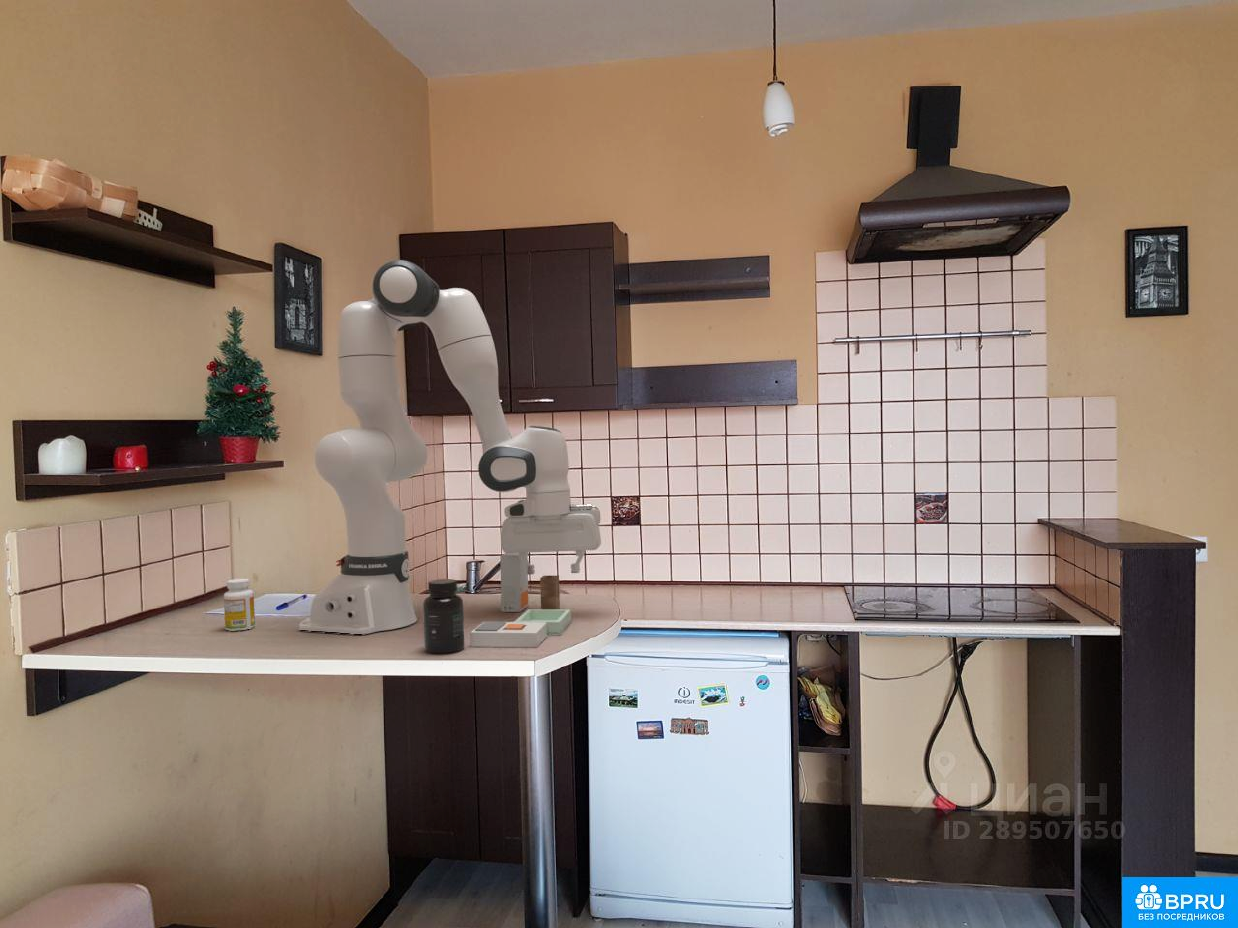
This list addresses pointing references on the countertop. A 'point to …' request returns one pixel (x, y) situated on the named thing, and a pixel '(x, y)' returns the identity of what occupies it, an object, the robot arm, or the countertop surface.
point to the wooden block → (550, 592)
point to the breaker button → (514, 627)
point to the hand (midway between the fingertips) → (552, 573)
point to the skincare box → (513, 583)
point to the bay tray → (548, 619)
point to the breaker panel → (508, 635)
